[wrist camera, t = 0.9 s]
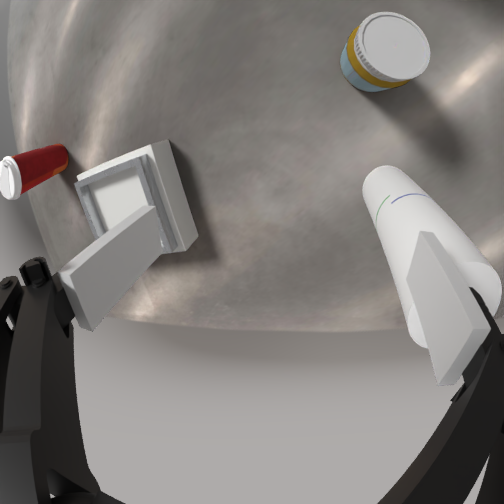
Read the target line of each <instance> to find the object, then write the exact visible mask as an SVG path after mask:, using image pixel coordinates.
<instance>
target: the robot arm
mask: <svg viewBox="0 0 504 504" xmlns="http://www.w3.org/2000/svg"><path fill="white" fill-rule="evenodd" d="M162 252H163V251H162V246H161V239H160V233H159V227H158V220H157V213H156V206H142V207H141V208H139V209H138V210H136V211H135V212H134V213H132V214H131V215H129V216H128V217H127V218H125V219H124V220H122V221H121V222H120V223H118V224H117V225H116V226H114V227H113V228H112V229H110V230H109V231H108V232H106V233H105V234H104V235H102V236H101V237H100V238H98V239H97V240H96V241H95V242H93V243H92V244H91V245H89V246H88V247H87V248H86V249H84V250H83V251H82V252H81V253H79V254H78V255H77V256H76V257H75V258H73V259H72V260H71V261H70V262H68V263H67V264H66V265H65V266H64V267H63V268H61V269H60V270H59V271H58V272H57V273H56V274H54V275H53V276H51V273H50V270H49V268H48V265H47V262H46V259H45V258H43V257H36V258H33V259H30V260H28V261H27V262H25V263H24V264H23V265H22V266H21V267H20V268H19V270H20V273H21V276H22V278H23V280H24V283H25V285H26V286H21V285H20V282H19V280H18V278H17V277H16V276H10V277H6V278H4V279H3V280H2V281H1V282H0V504H125V503H123V502H121V501H119V500H117V499H115V498H113V497H111V496H109V495H107V494H105V493H103V492H102V491H101V490H100V487H99V485H98V483H97V481H96V479H95V477H94V476H93V474H92V473H91V471H90V469H89V467H88V464H87V459H86V455H85V450H84V445H83V439H82V433H81V426H80V420H79V412H78V404H77V394H76V383H75V368H74V344H73V343H74V337H73V329H74V328H73V325H72V323H71V320H72V319H73V318H74V317H76V319H77V321H78V323H79V326H80V327H81V328H84V329H87V330H90V331H92V332H93V331H94V329H95V328H96V327H97V326H98V325H99V323H100V322H101V321H102V319H104V317H105V316H106V315H107V314H108V313H109V312H110V310H111V309H112V308H113V307H114V306H115V305H116V303H117V302H118V301H119V300H120V299H121V298H122V297H123V295H124V294H125V293H126V292H127V291H128V290H129V289H130V287H131V286H132V285H133V284H134V283H135V282H136V281H137V280H138V279H139V277H140V276H141V275H142V274H143V273H144V272H145V271H146V270H147V269H148V268H149V266H150V265H151V264H152V263H153V262H154V261H155V260H156V259H157V258H158V257H159V256H160V255H161V254H162ZM406 281H407V284H408V287H409V289H410V292H411V295H412V298H413V301H414V304H415V307H416V310H417V313H418V316H419V319H420V322H421V325H422V329H423V332H424V336H425V339H426V343H427V346H428V349H429V353H430V357H431V361H432V365H433V369H434V373H435V378H436V382H437V385H438V386H444V385H454V384H455V383H456V382H457V380H458V379H459V378H460V376H461V375H463V378H464V382H465V383H464V384H463V385H462V387H461V388H460V389H459V390H458V392H457V393H456V394H455V395H454V397H453V398H452V399H451V401H452V404H451V406H450V407H449V409H448V411H447V413H446V414H445V416H444V418H443V419H442V421H441V422H440V424H439V426H438V427H437V429H436V431H435V432H434V433H433V435H432V436H431V438H430V439H429V441H428V442H427V444H426V445H425V447H424V448H423V449H422V451H421V452H420V454H419V455H418V456H417V458H416V459H415V460H414V462H413V463H412V464H411V465H410V467H409V468H408V469H407V470H406V472H405V473H404V474H403V476H402V477H401V478H400V479H399V480H398V482H397V483H396V484H395V485H394V486H393V487H392V488H391V489H390V491H389V492H388V493H387V494H386V495H385V496H384V497H383V498H382V499H381V500H380V501H379V502H378V504H463V503H464V501H465V500H466V498H467V496H468V495H469V493H470V491H471V489H472V488H473V486H474V484H475V482H476V480H477V478H478V477H479V475H480V473H481V471H482V469H483V467H484V465H485V463H486V461H487V458H488V457H489V460H488V464H487V468H486V471H485V475H484V478H483V482H482V485H481V488H480V491H479V494H478V497H477V500H476V503H475V504H504V334H501V332H500V330H499V328H498V326H497V324H496V323H495V320H494V319H493V317H492V315H491V313H490V312H489V309H488V307H487V306H486V305H485V302H484V300H483V299H482V297H481V295H480V294H479V293H478V292H477V291H476V290H475V289H474V288H473V287H468V285H467V283H466V282H465V280H464V278H463V277H462V275H461V273H460V272H459V270H458V269H457V267H456V265H455V264H454V262H453V261H452V259H451V258H450V256H449V255H448V253H447V252H446V250H445V249H444V247H443V246H442V244H441V243H440V241H439V240H438V238H437V237H436V236H435V234H434V233H433V232H426V231H419V235H418V239H417V243H416V247H415V251H414V254H413V258H412V261H411V265H410V268H409V271H408V275H407V278H406ZM7 316H8V317H9V318H10V320H11V322H12V324H13V329H12V330H11V329H10V328H9V326H8V324H7V322H6V319H7ZM489 454H490V455H489ZM50 494H52V495H54V496H55V497H54V498H50Z"/></svg>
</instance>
